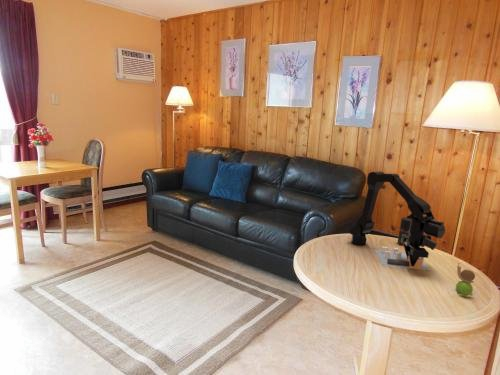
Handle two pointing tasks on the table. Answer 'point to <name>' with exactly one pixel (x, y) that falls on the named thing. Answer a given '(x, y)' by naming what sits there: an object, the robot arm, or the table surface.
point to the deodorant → (403, 229)
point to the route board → (403, 257)
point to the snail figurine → (465, 281)
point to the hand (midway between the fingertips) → (410, 263)
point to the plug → (406, 263)
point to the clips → (395, 252)
